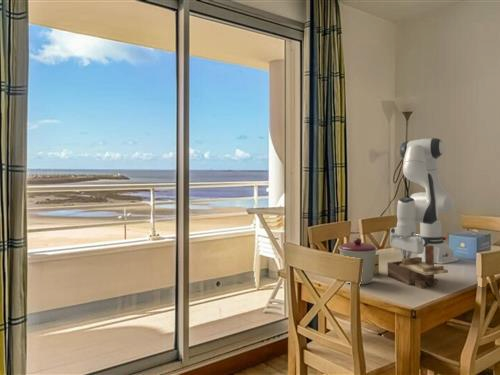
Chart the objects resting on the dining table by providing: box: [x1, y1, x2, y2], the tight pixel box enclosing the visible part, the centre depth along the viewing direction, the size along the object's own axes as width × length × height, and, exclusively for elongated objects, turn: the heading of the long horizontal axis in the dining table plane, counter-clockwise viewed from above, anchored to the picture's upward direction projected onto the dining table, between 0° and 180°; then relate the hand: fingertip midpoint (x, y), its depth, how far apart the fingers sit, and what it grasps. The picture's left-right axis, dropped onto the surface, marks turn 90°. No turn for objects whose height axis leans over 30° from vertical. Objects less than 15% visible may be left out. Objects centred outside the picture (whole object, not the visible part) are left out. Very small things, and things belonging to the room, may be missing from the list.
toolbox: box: [387, 260, 439, 289], centre depth 196 cm, size 12×22×7 cm, turn 18°
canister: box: [337, 237, 378, 286], centre depth 195 cm, size 18×18×21 cm
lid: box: [399, 256, 449, 275], centre depth 189 cm, size 12×18×4 cm
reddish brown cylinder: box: [424, 245, 435, 279], centre depth 198 cm, size 4×4×16 cm
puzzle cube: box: [373, 253, 380, 276], centre depth 211 cm, size 10×10×10 cm
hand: (406, 259), depth 200 cm, fingers closed
